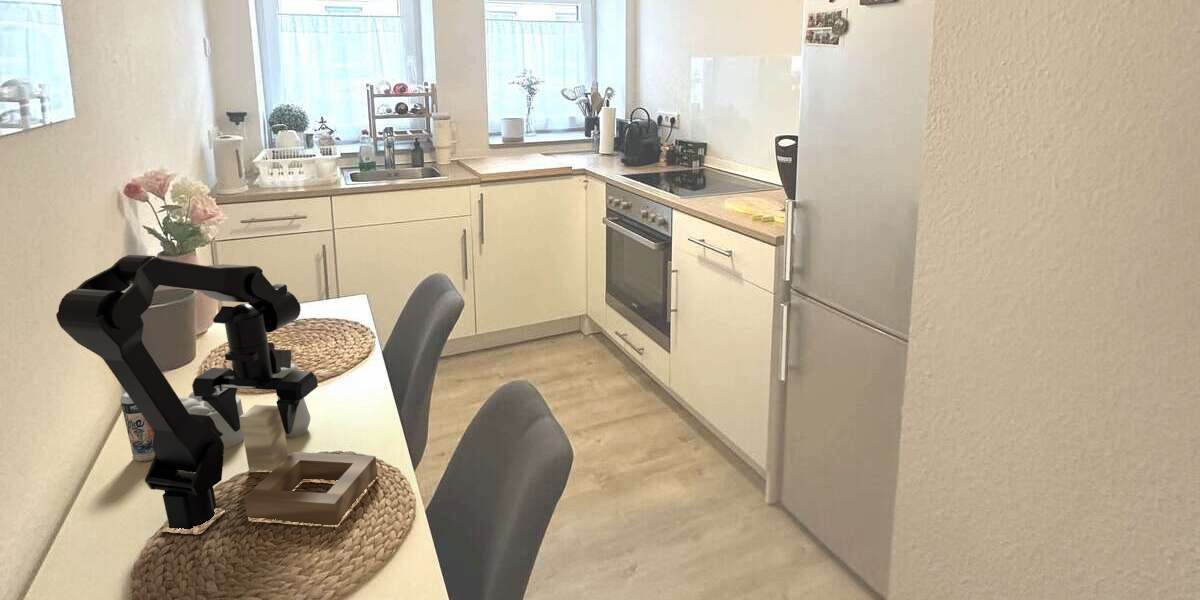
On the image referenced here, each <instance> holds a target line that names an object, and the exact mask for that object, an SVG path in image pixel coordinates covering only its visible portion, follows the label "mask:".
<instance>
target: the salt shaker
mask: <svg viewBox="0 0 1200 600" xmlns="http://www.w3.org/2000/svg"><path fill="white" fill-rule="evenodd" d="M299 369H300V368H299V366H298V365H297V364H295V363H292V362H291V368H281V372H279V373H278V374H274V375H273V378H283V377H284V376H286V375H287V374H288V373H290V372H291V371H300V370H299ZM279 399H280V398H279V397H278V396H277V401H278V400H279ZM310 422H311V415H310V411H309V409H308V406H307V404H306V401H305V397H304V398H303V399H301V400H300V402H299V405H298V408H297V412H296V416H295V420H294V424H293V429H292V432H291V433H290V434H286V432H285V430H284V432H285V438H297V437H301V436H303V435H305V434H306V432H307V431H308V429H309V427H310V426H309V425H310Z"/></svg>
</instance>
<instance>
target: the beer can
mask: <svg viewBox="0 0 1200 600" xmlns="http://www.w3.org/2000/svg"><path fill="white" fill-rule="evenodd" d="M119 402H120V404H121V409H122V413H123V418H124V423H125V427H126V431H127V435H128V439H129V440H128V441H129V443H130V449H131V453H132V459H133V460H135V461H138V462H149V461H153V459H154V457H155V455H156V454H155V452H154V450H153V448H152V440H153V433H154V432H153V430H152V428H151V427H150V425H149V424H148V422H147V421H146V419H145V418H144V417H143V415H142V414H141V412H140V411H139V410H138V408H137V407H136V405H135V404H134V402H133V401H132V400H131V398H130V397H129V395H128V394H127V392H126V391H125V390H124V392H122V393H121V397H120V400H119Z"/></svg>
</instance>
